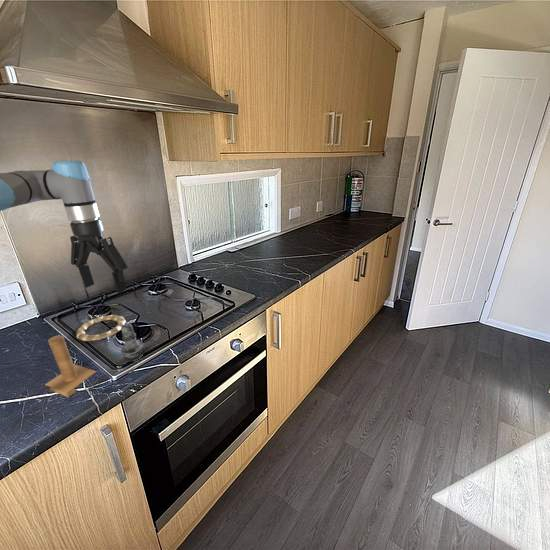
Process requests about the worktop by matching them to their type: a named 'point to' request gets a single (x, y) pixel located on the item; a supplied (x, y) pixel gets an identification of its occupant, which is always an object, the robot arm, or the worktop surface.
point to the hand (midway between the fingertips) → (105, 288)
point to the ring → (83, 336)
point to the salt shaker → (131, 343)
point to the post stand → (66, 369)
